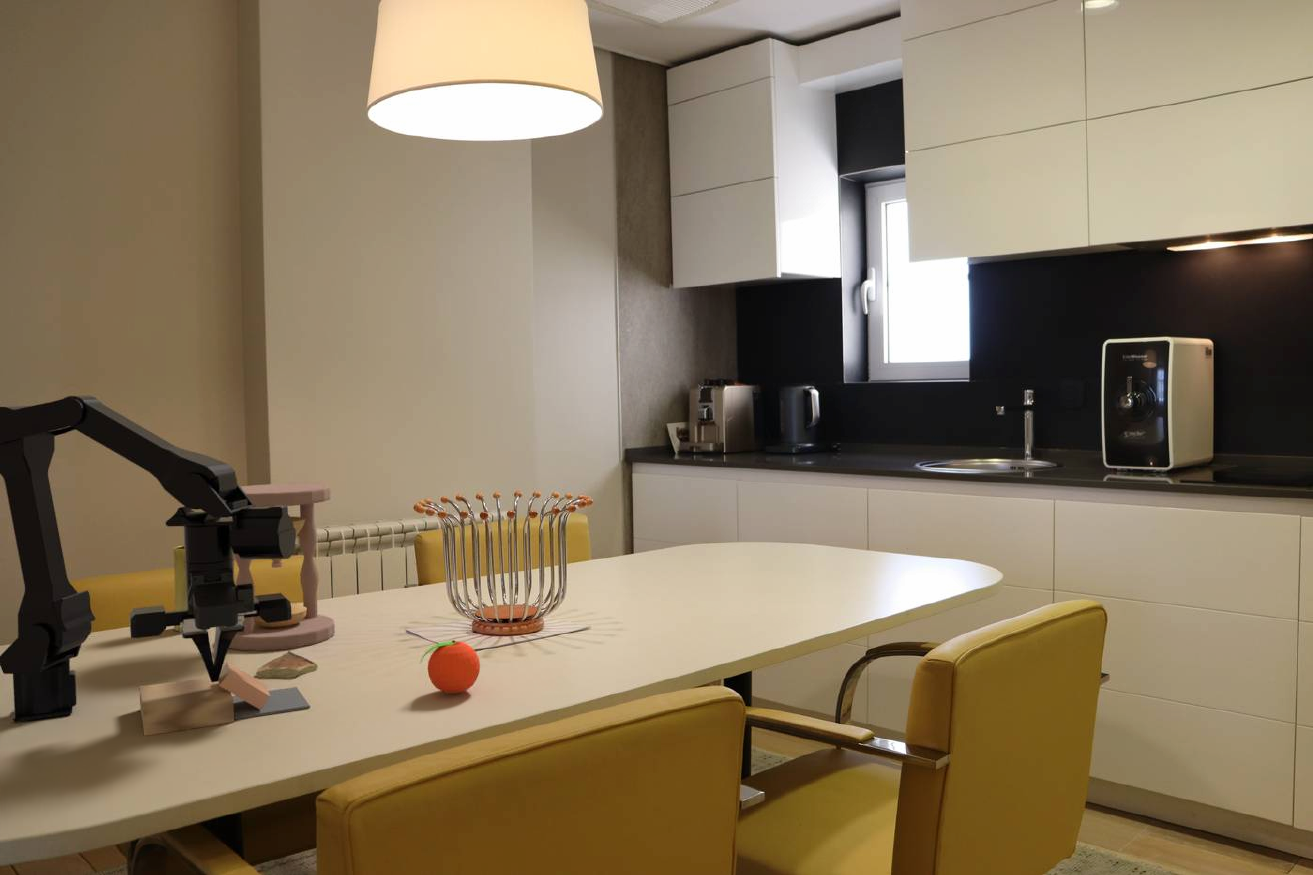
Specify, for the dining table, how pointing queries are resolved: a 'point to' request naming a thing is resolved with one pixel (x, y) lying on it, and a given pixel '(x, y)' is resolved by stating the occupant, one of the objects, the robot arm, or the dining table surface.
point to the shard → (286, 666)
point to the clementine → (453, 667)
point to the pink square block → (243, 686)
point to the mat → (271, 704)
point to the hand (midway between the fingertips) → (214, 681)
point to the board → (184, 705)
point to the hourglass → (304, 618)
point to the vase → (179, 580)
